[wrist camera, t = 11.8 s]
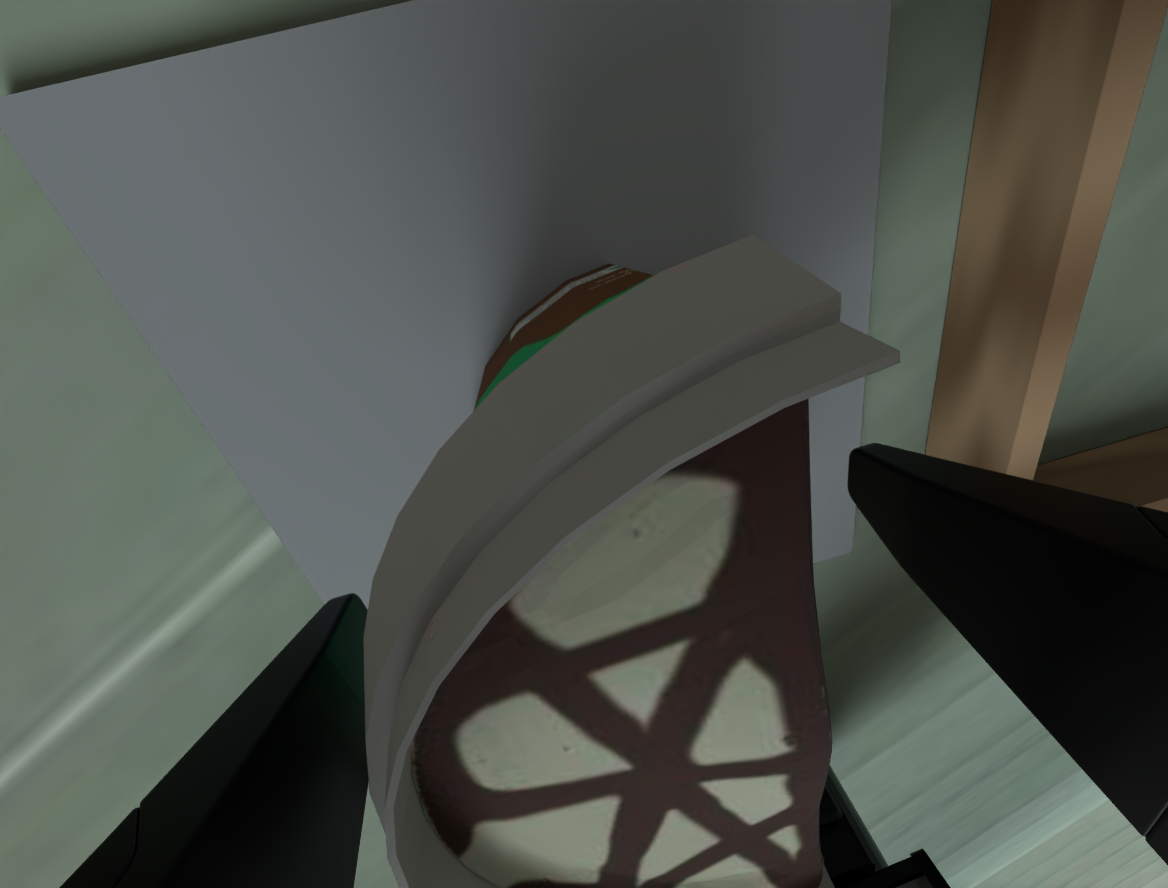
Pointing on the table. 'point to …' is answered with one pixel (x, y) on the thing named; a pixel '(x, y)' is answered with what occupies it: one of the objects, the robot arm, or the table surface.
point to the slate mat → (451, 215)
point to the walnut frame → (1041, 239)
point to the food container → (618, 594)
